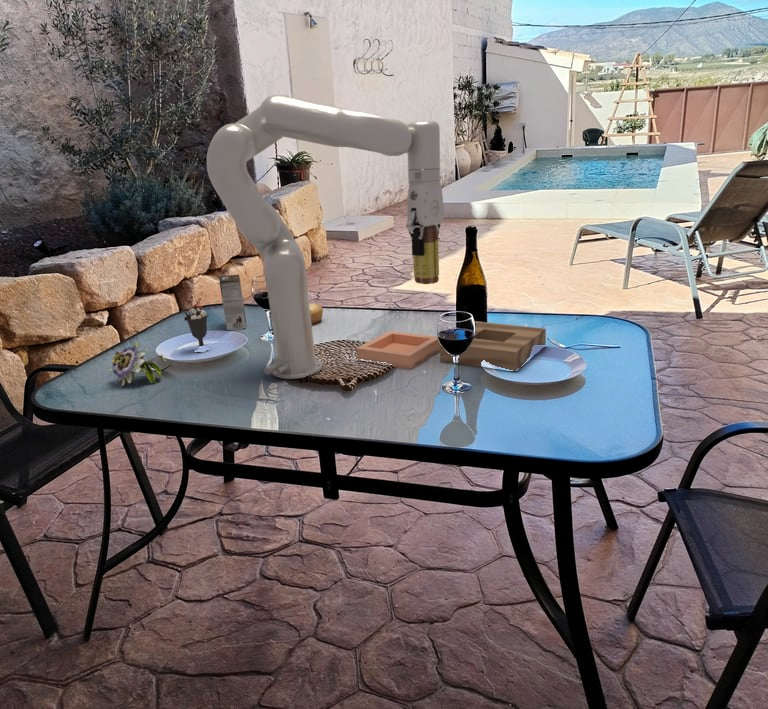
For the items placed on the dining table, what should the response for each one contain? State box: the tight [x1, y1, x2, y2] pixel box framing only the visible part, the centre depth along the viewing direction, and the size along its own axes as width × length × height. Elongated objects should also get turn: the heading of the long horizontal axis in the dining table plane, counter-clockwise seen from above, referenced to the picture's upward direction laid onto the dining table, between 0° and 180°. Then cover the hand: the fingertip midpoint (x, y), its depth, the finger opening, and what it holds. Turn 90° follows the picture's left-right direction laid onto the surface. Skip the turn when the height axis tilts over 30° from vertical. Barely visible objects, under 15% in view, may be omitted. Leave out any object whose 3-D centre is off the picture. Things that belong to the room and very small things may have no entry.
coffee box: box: [218, 274, 248, 331], centre depth 198 cm, size 9×6×16 cm
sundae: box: [184, 297, 209, 347], centre depth 177 cm, size 7×7×15 cm
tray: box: [355, 330, 440, 370], centre depth 162 cm, size 16×16×4 cm
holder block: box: [439, 320, 547, 371], centre depth 158 cm, size 20×20×5 cm
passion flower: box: [108, 341, 167, 387], centre depth 157 cm, size 11×11×12 cm
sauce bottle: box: [412, 224, 440, 285], centre depth 152 cm, size 7×6×20 cm
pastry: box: [308, 294, 324, 326], centre depth 198 cm, size 12×12×9 cm
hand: (425, 252), depth 153 cm, fingers closed on sauce bottle, 6 cm apart
